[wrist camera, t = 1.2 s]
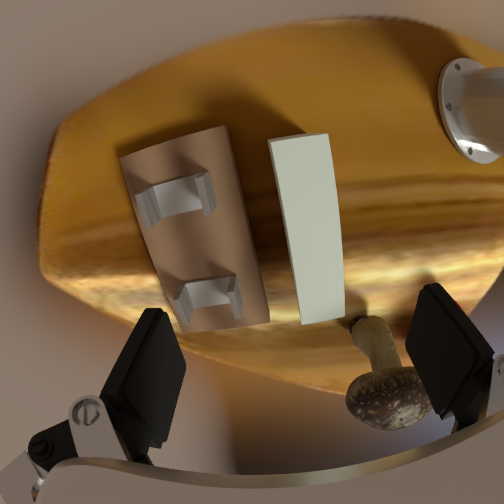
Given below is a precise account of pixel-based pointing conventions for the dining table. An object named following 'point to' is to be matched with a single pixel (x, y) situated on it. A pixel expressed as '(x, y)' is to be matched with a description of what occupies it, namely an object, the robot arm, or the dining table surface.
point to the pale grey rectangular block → (311, 223)
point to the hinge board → (198, 230)
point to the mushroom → (384, 381)
